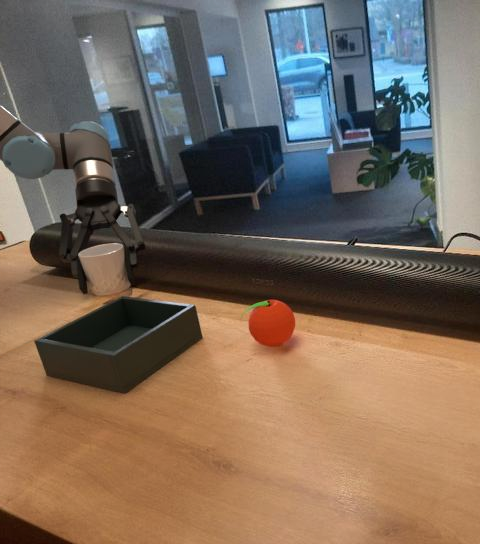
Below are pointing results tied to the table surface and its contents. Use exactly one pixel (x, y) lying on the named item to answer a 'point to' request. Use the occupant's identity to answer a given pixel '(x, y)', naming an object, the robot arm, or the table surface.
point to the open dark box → (119, 342)
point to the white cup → (106, 270)
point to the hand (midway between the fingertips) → (107, 286)
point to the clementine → (271, 322)
